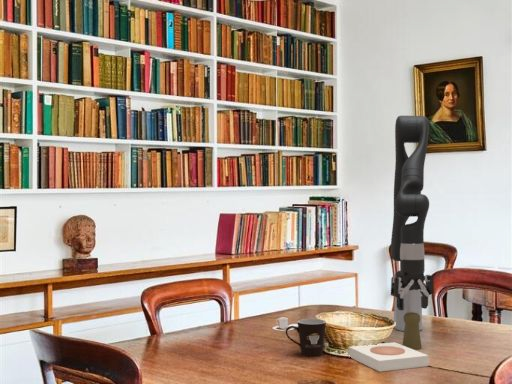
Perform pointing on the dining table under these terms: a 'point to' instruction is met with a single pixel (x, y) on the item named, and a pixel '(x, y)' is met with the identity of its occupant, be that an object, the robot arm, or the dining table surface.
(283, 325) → the teacup and saucer
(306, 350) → the coffee mug
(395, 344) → the plinth
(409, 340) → the brown pawn
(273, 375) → the dining table surface
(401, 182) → the robot arm
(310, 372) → the dining table surface
